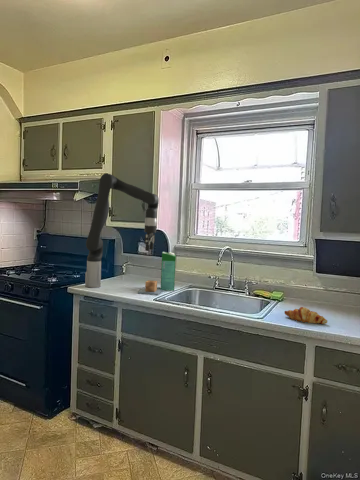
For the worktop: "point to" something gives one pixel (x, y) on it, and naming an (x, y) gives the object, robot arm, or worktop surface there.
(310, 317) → the croissant
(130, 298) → the worktop surface
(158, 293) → the slate mat
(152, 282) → the wood block
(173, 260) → the milk carton
